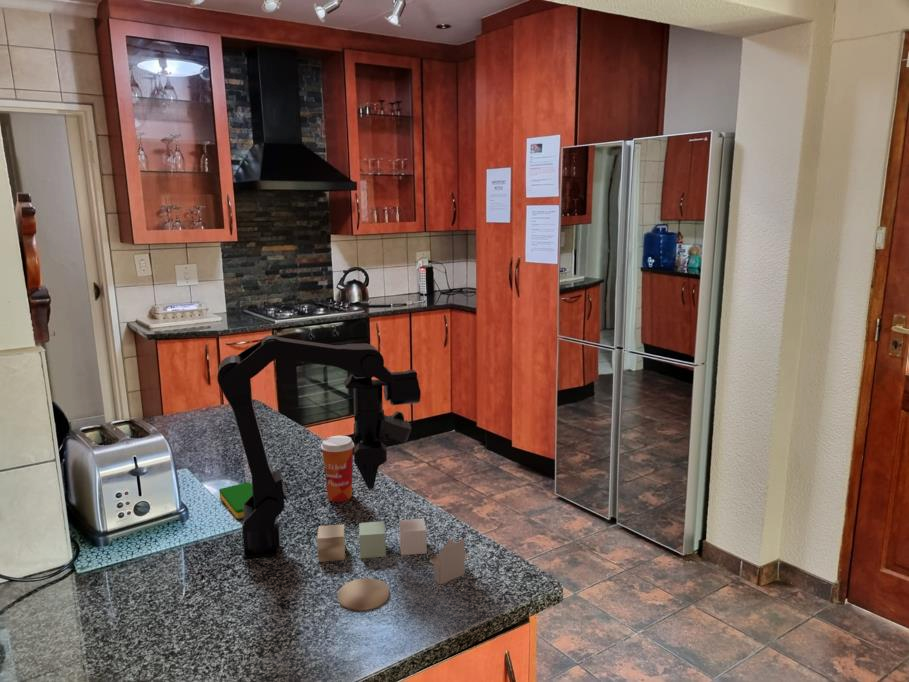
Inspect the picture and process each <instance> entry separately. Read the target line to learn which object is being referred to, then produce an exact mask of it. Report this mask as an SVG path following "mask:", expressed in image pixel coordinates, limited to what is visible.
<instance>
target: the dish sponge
mask: <svg viewBox="0 0 909 682" xmlns="http://www.w3.org/2000/svg"><path fill="white" fill-rule="evenodd" d="M218 491H219V498H220V499H221V500H222V502H223V503H224V504H225V506H226V507H227V508H228V510H229V511H230V512H231V514H233V516H234V518H236V519H244V503H245V502H246V501H247V500H248V499H249V498H250V497H251V496H252V495H253V488H252V483H251V482H249V481H245V482H242V483H239V484H234V485H229V486H226V487H222V488H219V490H218Z"/></svg>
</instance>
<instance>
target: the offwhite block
mask: <svg viewBox="0 0 909 682" xmlns="http://www.w3.org/2000/svg"><path fill="white" fill-rule="evenodd" d="M398 522H399V523H398V524H399V525H398V528H399V535H398V536H399V548H400V554H401V556H409V555H419V554H422V555H424V554H427V553H428V552H427V551H428V549H427V545H428V544H427V527H426V523H425V518H423V517H422V518H412V519H411V518H410V519H401V520H399V521H398Z"/></svg>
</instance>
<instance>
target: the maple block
mask: <svg viewBox="0 0 909 682" xmlns="http://www.w3.org/2000/svg"><path fill="white" fill-rule="evenodd" d="M317 529H318V530H317V539H316V540H317V541H316V542H317V559H318V560H317V561H318V563H322V562H333V561H345V559H346V539H345V538H346V537H345V524H344V523H343V524H330V525H319V526H318V528H317Z"/></svg>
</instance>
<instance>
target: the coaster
mask: <svg viewBox="0 0 909 682" xmlns="http://www.w3.org/2000/svg"><path fill="white" fill-rule="evenodd" d="M389 598H390V588H389V586H388V585H387V584H386V583H385V582H384V581H382V580H380V579H376V578H370V577H369V578H367V577H366V578H365V577H364V578H357V579H354V580H351V581H349V582H346V583H344V585H342V586H341V587H340V588H339V590H338V592H337V601H338V604H340V605H341V606H342V607H344V608H346V609H347V610H350V611H357V612H358V611H359V612H361V611H362V612H363V611H364V612H365V611H370V610H373V609H376V608H378V607H380V606H382V605H383V604H385V603H386V602H387V601H388V599H389Z"/></svg>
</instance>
